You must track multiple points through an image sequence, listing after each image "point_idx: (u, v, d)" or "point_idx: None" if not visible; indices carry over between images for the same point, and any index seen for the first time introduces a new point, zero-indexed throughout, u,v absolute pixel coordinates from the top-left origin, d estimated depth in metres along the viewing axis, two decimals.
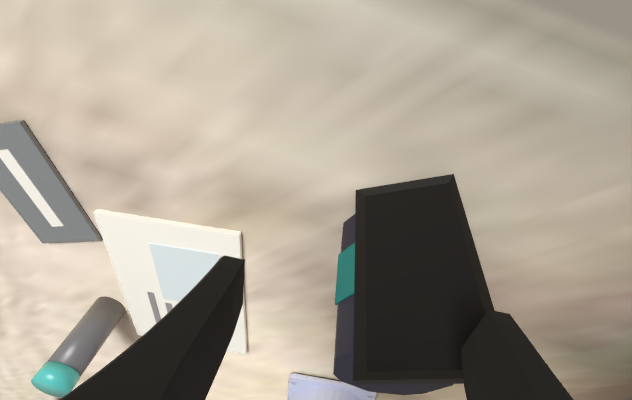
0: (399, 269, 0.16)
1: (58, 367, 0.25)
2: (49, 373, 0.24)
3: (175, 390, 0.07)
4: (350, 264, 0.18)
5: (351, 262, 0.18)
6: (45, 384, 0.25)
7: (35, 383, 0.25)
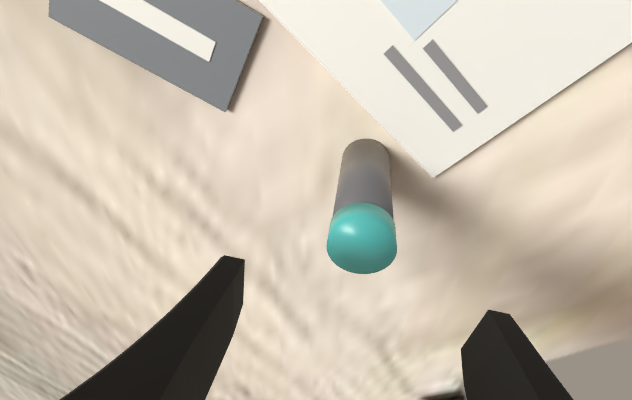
0: None
1: (347, 210, 0.13)
2: (341, 220, 0.13)
3: (175, 390, 0.07)
4: None
5: None
6: (350, 245, 0.13)
7: (337, 257, 0.14)
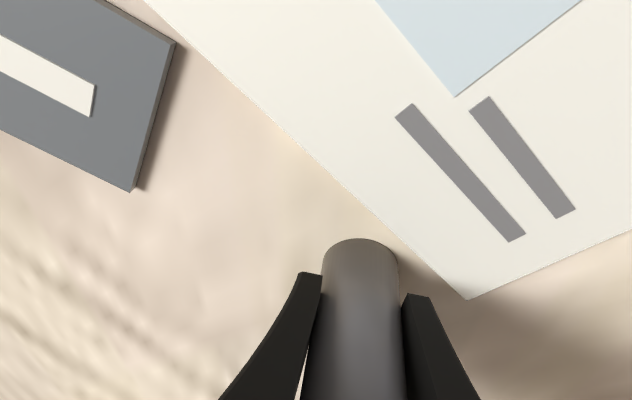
0: None
1: None
2: None
3: None
4: None
5: None
6: None
7: None
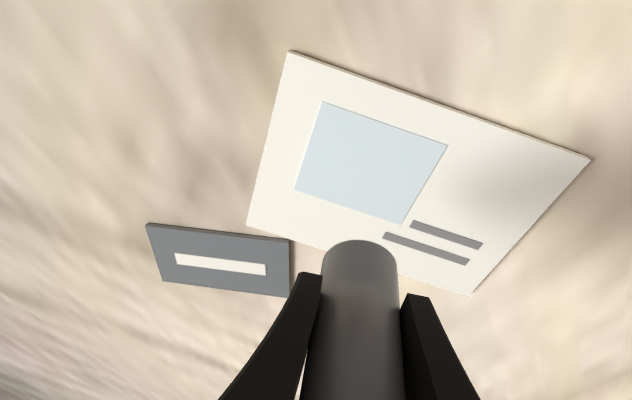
0: None
1: None
2: None
3: None
4: None
5: None
6: None
7: None
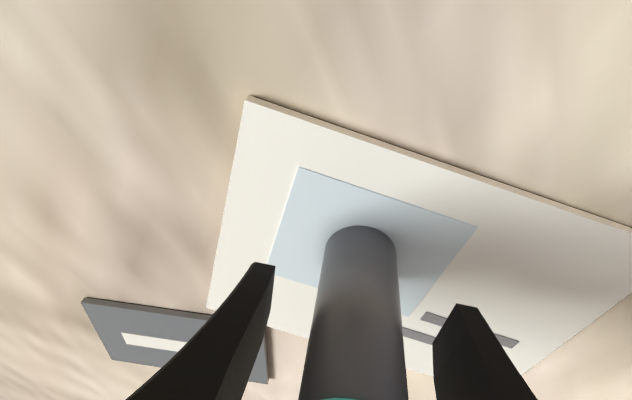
0: None
1: None
2: None
3: None
4: None
5: None
6: None
7: None
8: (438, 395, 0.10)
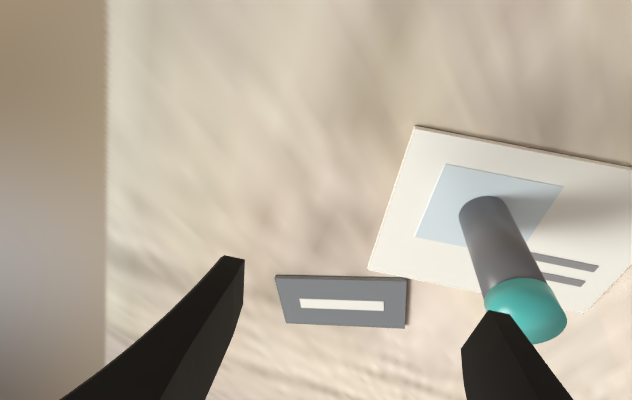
0: None
1: (507, 287, 0.14)
2: (505, 299, 0.13)
3: (175, 390, 0.07)
4: None
5: None
6: (516, 322, 0.14)
7: None
8: None
